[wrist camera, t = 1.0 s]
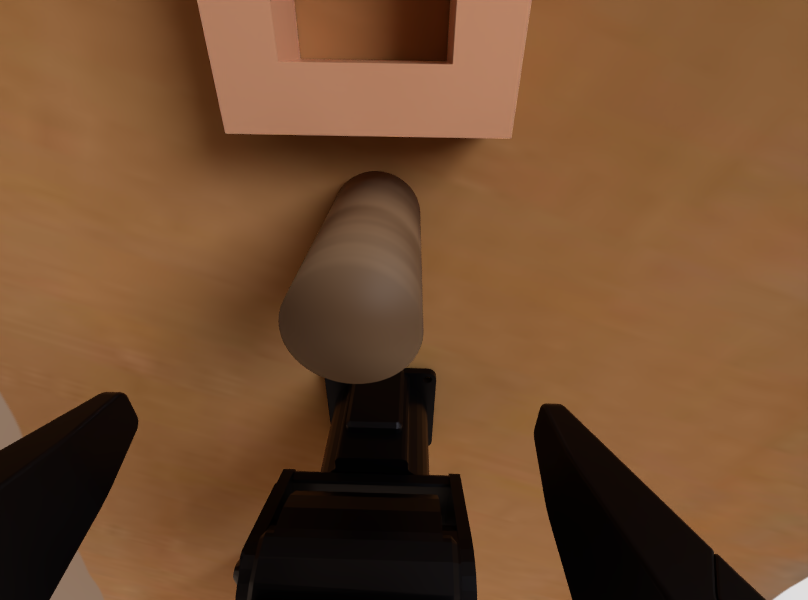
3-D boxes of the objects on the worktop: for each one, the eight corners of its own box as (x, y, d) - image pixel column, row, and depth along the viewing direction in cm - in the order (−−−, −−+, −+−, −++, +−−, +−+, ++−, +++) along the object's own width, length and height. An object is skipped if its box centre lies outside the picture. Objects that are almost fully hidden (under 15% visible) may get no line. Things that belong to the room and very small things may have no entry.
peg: (418, 254, 20) (420, 385, 12) (337, 252, 20) (289, 382, 12) (421, 172, 18) (426, 268, 10) (330, 170, 18) (267, 265, 10)
